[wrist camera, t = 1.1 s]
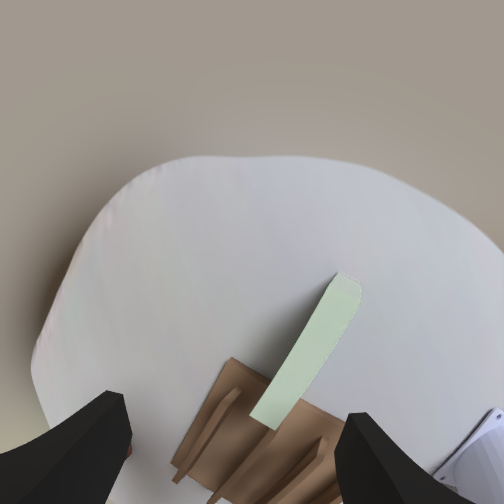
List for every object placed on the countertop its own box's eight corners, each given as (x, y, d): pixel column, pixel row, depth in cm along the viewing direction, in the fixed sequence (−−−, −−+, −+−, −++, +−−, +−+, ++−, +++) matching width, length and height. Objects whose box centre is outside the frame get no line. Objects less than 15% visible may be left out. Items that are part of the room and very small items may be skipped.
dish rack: (395, 445, 18) (397, 474, 14) (297, 528, 20) (287, 551, 17) (232, 357, 22) (210, 374, 18) (174, 459, 25) (154, 477, 21)
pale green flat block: (360, 282, 19) (361, 302, 12) (302, 378, 20) (275, 430, 14) (339, 270, 19) (328, 284, 13) (283, 367, 21) (249, 415, 14)
